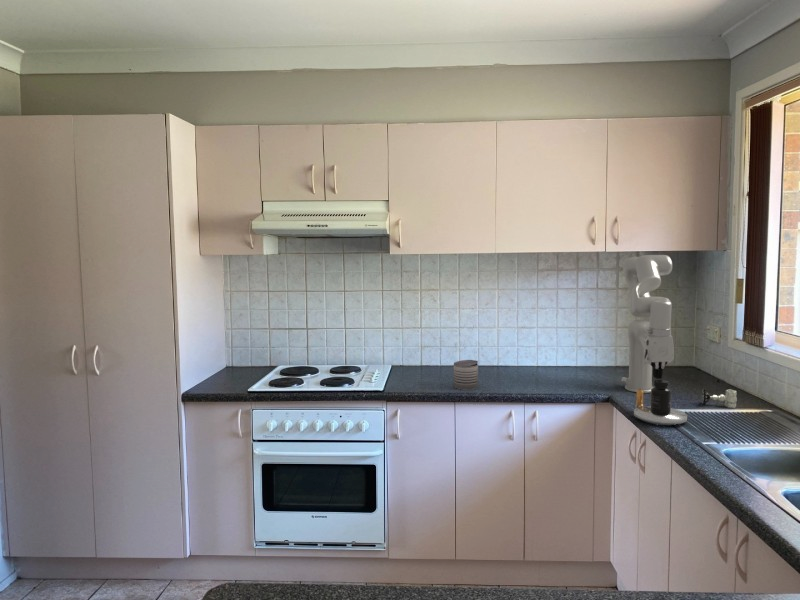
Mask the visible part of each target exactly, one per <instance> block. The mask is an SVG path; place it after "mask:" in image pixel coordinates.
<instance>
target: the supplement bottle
mask: <svg viewBox="0 0 800 600" xmlns="http://www.w3.org/2000/svg"><path fill="white" fill-rule="evenodd" d="M653 381H654V383H653V388H652V389H651V392H650V406H651V412H652V413H654V414H658V415H669V414H670V412H671V408H672V405H671V404H672V390H671V389H670V388H669V387H670V386H669V381H668V380H664V379H654V380H653Z"/></svg>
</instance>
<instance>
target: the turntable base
mask: <svg viewBox="0 0 800 600" xmlns="http://www.w3.org/2000/svg"><path fill="white" fill-rule="evenodd" d="M639 421H641V422H644V423H646V422H647V421H644V420H641V419H639ZM649 423H652V422H647V423H646V424H649ZM653 424H658V423H652V424H651V425H653ZM659 425H667V426H666V427H672V426H671V425H674V424H658V425H657V426H659Z"/></svg>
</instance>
